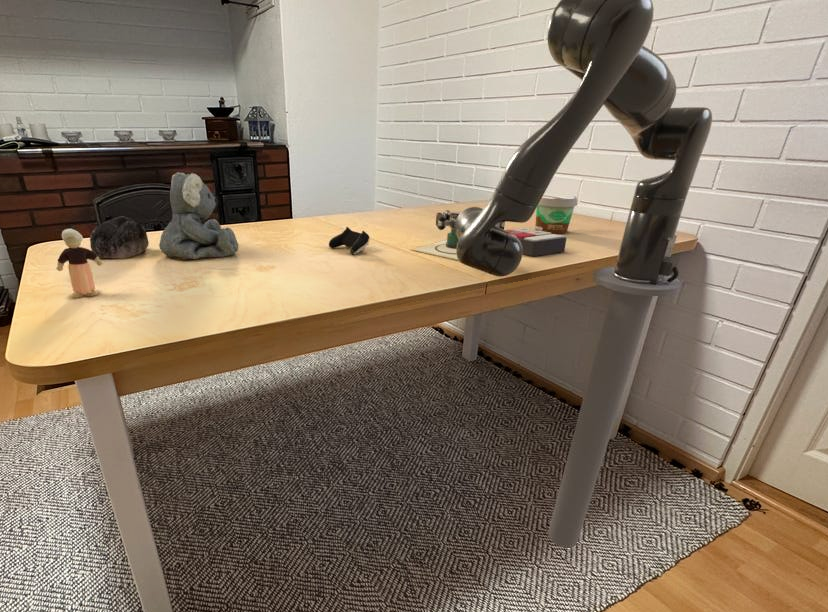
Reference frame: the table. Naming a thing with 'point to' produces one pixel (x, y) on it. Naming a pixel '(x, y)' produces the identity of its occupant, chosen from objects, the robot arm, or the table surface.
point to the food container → (554, 215)
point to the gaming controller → (351, 240)
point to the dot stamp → (452, 239)
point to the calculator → (539, 241)
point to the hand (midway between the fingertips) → (466, 215)
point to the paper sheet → (438, 250)
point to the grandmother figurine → (78, 264)
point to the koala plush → (194, 222)
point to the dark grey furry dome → (118, 238)
